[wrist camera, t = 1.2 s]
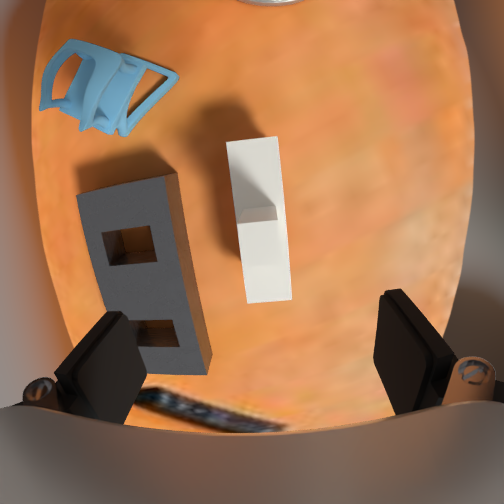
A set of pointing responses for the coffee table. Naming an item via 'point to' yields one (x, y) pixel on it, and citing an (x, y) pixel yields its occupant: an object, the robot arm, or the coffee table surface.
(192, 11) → the coffee table surface
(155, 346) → the slotted plate
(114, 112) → the chair
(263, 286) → the white stepped block
